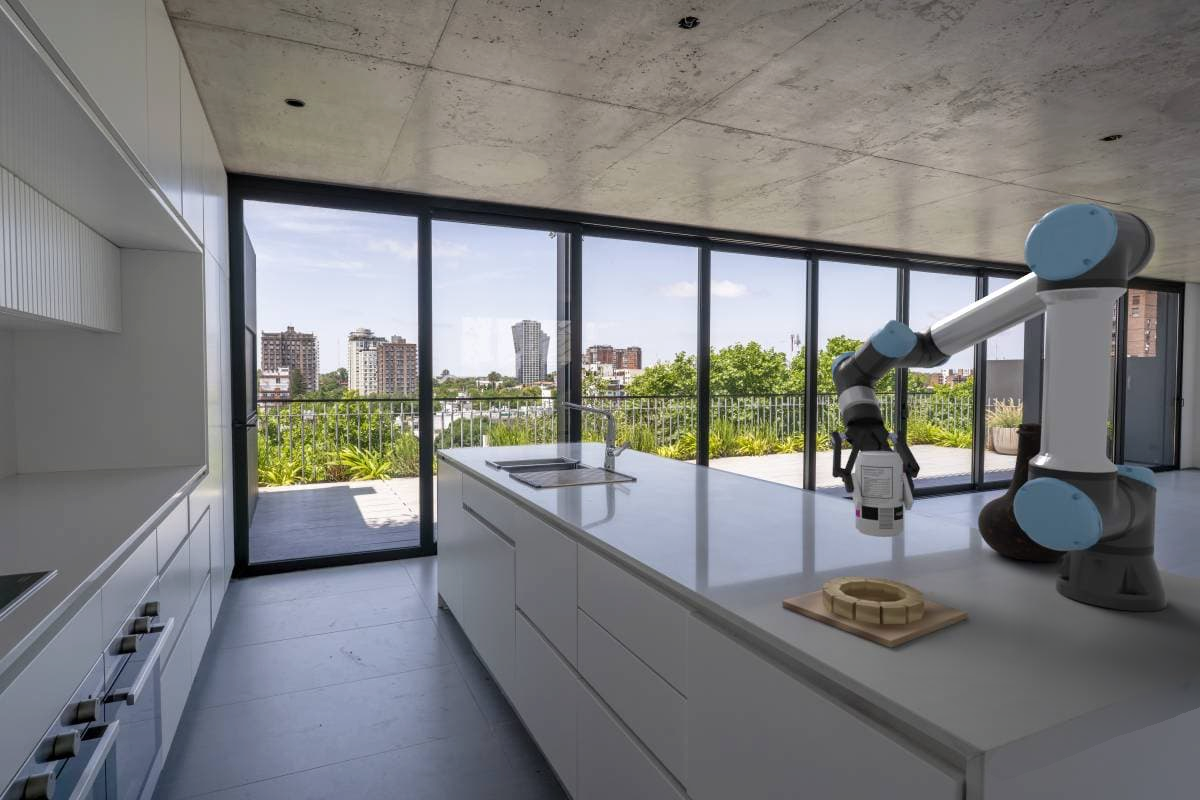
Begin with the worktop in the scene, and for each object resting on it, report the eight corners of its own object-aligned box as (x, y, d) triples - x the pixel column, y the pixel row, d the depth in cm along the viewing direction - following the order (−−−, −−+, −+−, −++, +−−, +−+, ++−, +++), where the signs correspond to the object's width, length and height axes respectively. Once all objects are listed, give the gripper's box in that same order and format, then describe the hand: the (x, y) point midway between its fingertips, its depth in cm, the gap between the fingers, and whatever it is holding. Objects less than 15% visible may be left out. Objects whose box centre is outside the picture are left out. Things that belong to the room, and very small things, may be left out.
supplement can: (846, 529, 127) (846, 451, 127) (882, 525, 130) (882, 449, 129) (875, 539, 119) (875, 456, 119) (913, 535, 122) (912, 454, 121)
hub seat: (967, 618, 105) (967, 596, 105) (890, 647, 94) (890, 623, 94) (858, 584, 122) (858, 566, 122) (782, 606, 111) (782, 585, 111)
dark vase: (966, 556, 139) (968, 424, 138) (992, 540, 152) (993, 419, 151) (1068, 574, 126) (1071, 428, 125) (1087, 555, 139) (1090, 422, 138)
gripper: (910, 425, 138) (939, 517, 122) (806, 425, 141) (821, 516, 125) (919, 400, 132) (950, 494, 117) (810, 401, 135) (827, 493, 120)
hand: (884, 505), depth 121 cm, fingers closed on supplement can, 8 cm apart
